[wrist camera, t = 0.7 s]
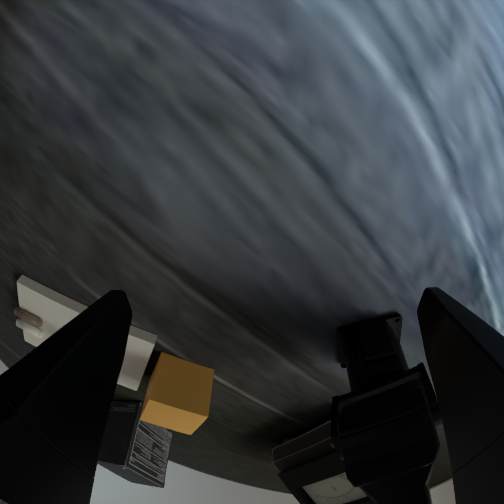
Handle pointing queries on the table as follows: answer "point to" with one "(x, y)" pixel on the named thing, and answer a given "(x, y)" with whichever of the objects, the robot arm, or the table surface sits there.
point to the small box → (135, 445)
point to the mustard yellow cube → (178, 394)
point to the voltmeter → (315, 470)
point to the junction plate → (64, 310)
